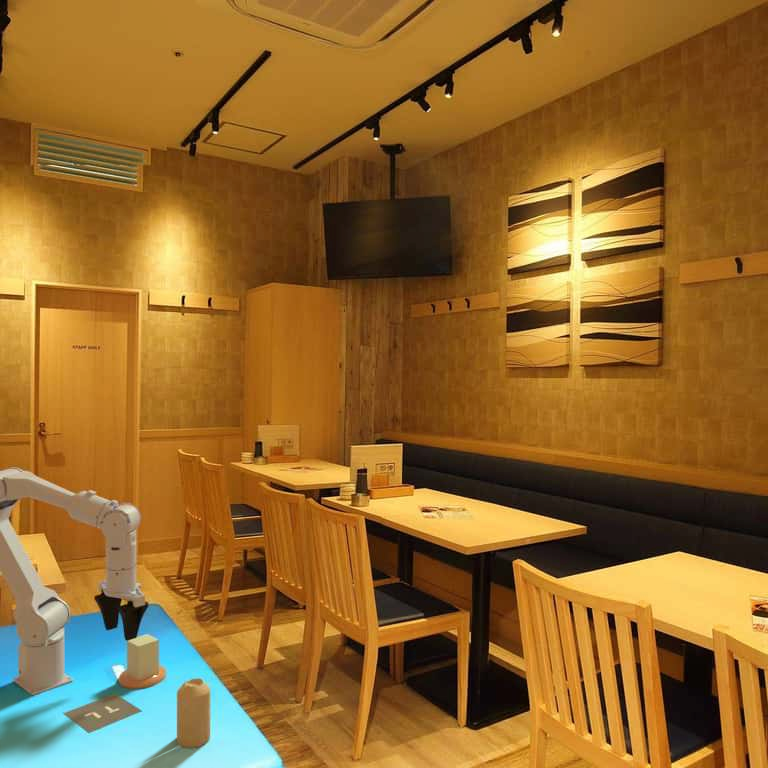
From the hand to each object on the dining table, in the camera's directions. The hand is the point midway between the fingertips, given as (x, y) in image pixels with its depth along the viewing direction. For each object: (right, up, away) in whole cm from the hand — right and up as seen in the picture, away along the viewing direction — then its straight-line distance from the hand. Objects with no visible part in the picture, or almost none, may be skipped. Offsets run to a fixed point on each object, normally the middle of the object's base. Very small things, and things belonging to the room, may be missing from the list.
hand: (121, 633), depth 134 cm
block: (+3, -9, +3) cm, 10 cm away
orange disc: (+3, -10, +3) cm, 11 cm away
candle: (+20, -11, -19) cm, 30 cm away
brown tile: (+1, -11, -11) cm, 15 cm away
